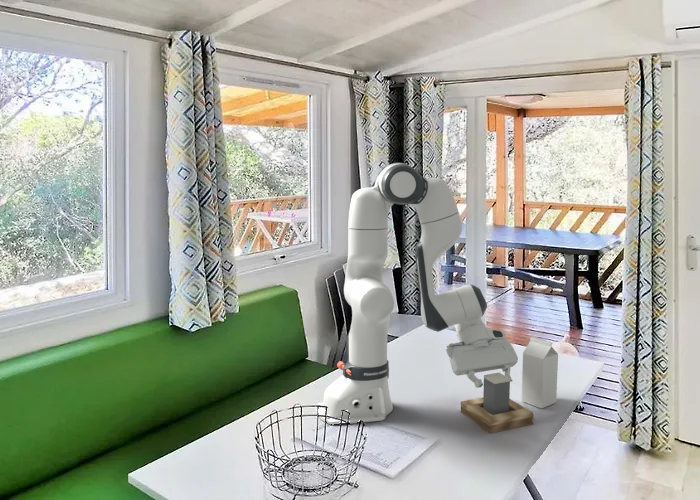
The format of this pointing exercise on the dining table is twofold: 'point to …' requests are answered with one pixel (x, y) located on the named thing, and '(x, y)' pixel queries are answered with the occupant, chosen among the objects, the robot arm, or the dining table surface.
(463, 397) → the dining table surface
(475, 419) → the square wooden tray
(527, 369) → the milk carton
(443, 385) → the dining table surface
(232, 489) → the dining table surface
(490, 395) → the plain greyish beige box
